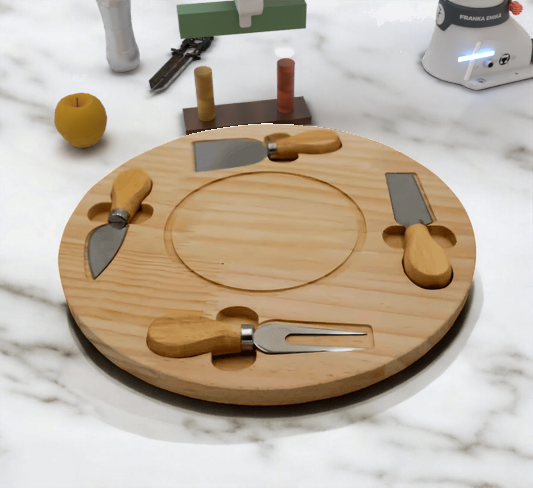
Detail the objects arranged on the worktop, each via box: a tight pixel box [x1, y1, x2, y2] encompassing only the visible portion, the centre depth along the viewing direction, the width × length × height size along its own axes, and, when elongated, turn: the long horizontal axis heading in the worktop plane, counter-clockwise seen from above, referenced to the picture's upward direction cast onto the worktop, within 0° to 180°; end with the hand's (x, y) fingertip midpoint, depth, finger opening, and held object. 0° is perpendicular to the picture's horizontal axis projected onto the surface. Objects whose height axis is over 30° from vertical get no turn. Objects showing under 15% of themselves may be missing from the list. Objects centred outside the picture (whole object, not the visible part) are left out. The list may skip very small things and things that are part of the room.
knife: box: [148, 36, 215, 95], centre depth 130 cm, size 25×6×1 cm, turn 154°
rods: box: [182, 57, 313, 136], centre depth 112 cm, size 22×7×10 cm, turn 100°
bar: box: [176, 0, 308, 40], centre depth 103 cm, size 20×4×4 cm, turn 100°
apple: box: [53, 92, 108, 149], centre depth 108 cm, size 8×8×9 cm
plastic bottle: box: [95, 0, 141, 73], centre depth 123 cm, size 6×7×20 cm
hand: (242, 18), depth 103 cm, fingers closed on bar, 3 cm apart
